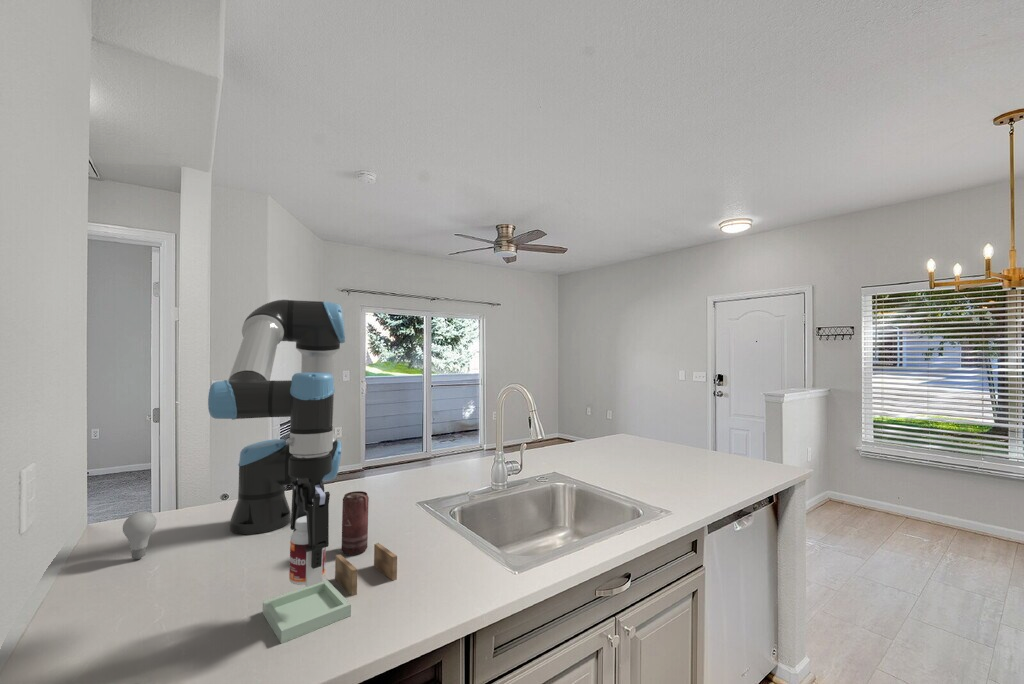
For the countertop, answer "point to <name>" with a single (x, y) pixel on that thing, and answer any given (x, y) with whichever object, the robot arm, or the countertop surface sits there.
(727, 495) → the countertop surface
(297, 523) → the pill bottle
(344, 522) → the can
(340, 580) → the rack
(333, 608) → the tray
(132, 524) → the lightbulb
